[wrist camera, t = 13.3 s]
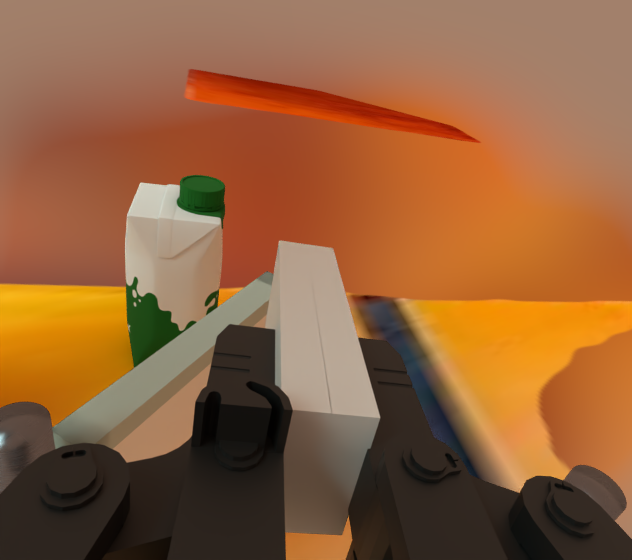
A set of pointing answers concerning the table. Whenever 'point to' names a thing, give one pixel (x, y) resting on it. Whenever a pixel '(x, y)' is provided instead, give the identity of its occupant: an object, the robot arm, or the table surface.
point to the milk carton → (172, 260)
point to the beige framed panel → (162, 386)
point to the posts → (37, 439)
